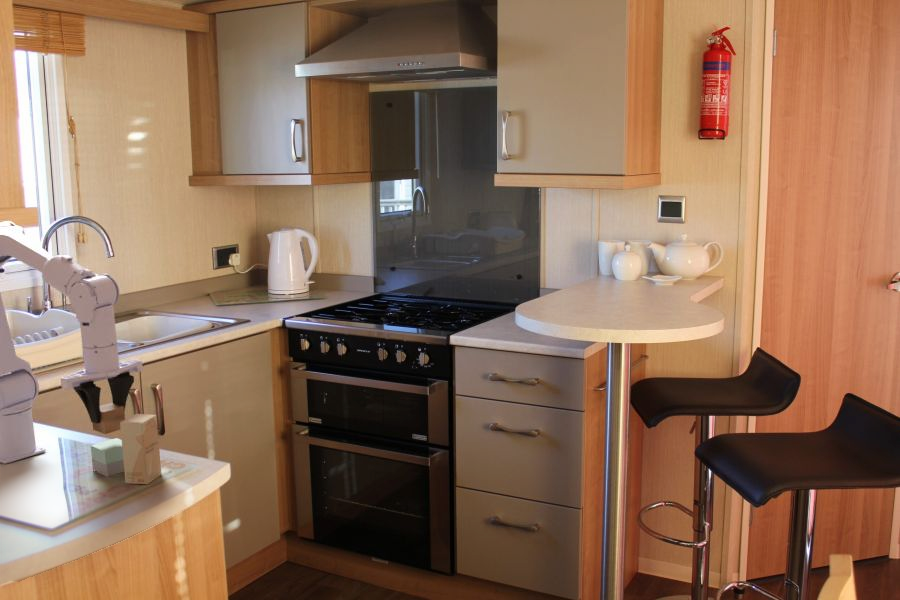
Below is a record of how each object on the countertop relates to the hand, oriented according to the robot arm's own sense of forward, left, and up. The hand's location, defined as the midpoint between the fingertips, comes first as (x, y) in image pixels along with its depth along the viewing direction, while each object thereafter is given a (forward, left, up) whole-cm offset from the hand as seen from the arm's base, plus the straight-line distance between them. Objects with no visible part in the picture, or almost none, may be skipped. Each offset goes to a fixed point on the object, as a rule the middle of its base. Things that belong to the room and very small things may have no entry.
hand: (107, 418), depth 159 cm
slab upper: (0, 0, -7) cm, 7 cm away
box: (+9, 0, -10) cm, 13 cm away
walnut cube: (0, 0, -2) cm, 2 cm away
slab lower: (0, 0, -10) cm, 10 cm away
